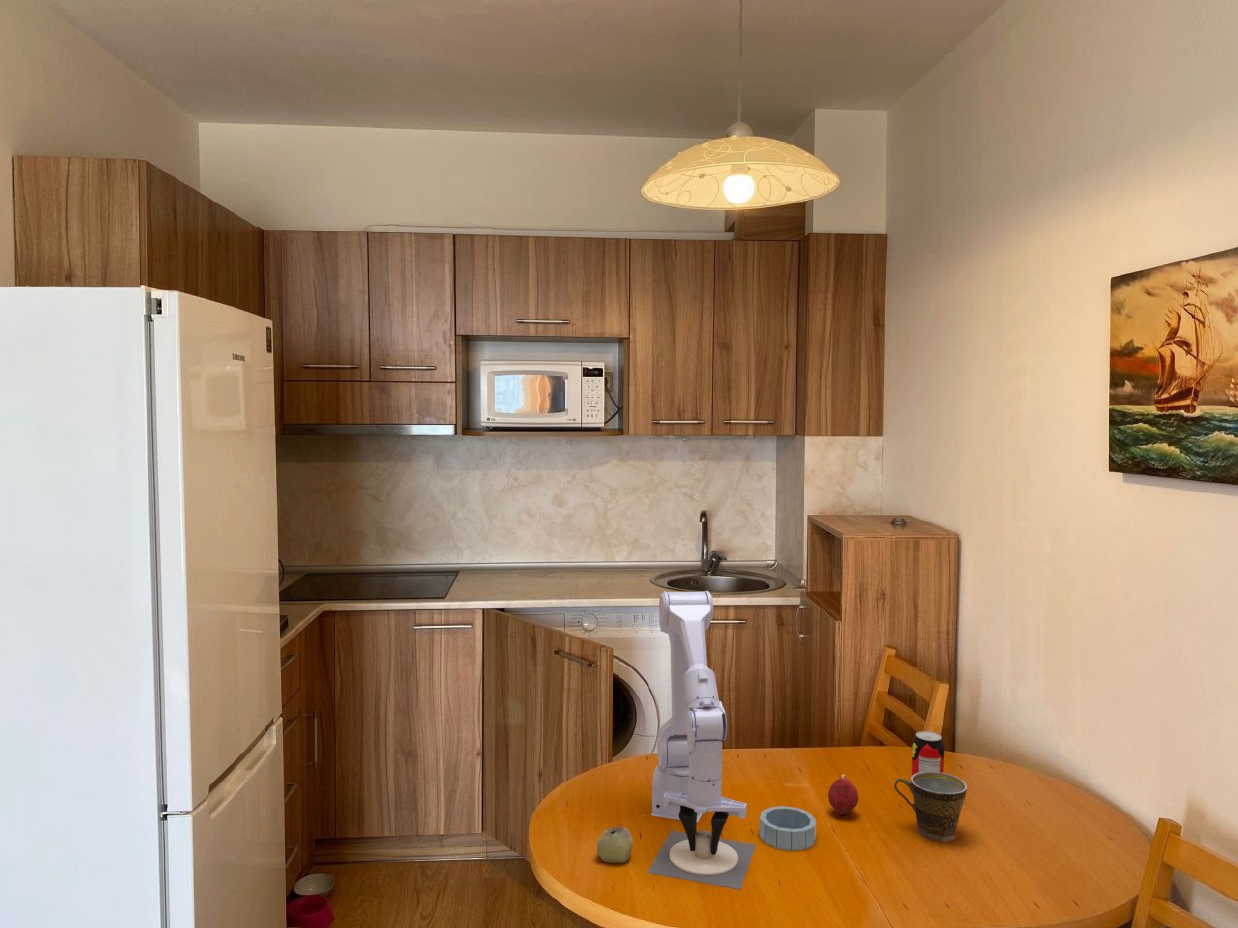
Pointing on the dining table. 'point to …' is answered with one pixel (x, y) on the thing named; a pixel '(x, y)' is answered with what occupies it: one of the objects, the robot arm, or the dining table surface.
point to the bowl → (787, 828)
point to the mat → (728, 879)
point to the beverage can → (927, 753)
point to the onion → (843, 795)
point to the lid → (703, 856)
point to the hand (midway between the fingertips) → (703, 850)
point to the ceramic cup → (936, 803)
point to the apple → (615, 845)
